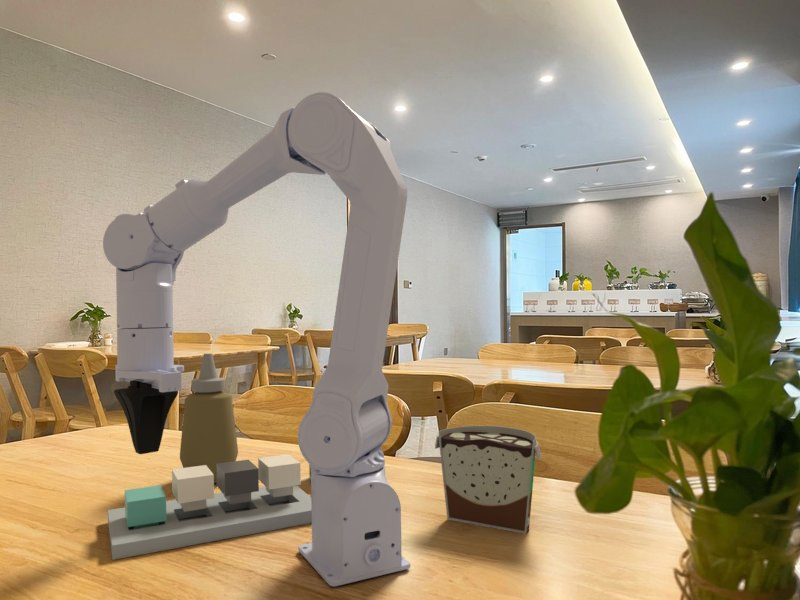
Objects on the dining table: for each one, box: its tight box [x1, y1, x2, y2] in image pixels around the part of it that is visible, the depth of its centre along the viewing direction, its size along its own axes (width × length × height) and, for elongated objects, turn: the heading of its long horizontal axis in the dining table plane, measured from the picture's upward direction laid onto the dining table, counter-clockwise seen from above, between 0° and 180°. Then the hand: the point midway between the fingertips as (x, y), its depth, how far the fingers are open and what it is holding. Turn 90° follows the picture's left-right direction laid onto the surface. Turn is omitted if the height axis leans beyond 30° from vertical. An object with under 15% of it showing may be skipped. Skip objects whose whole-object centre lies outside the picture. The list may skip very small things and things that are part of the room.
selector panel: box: [107, 485, 312, 561], centre depth 70 cm, size 12×22×1 cm, turn 117°
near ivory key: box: [257, 453, 302, 497], centre depth 74 cm, size 5×4×4 cm
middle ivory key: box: [171, 465, 215, 512], centre depth 69 cm, size 5×4×4 cm
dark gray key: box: [216, 459, 260, 504], centre depth 71 cm, size 5×4×4 cm
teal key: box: [124, 484, 167, 530], centre depth 67 cm, size 5×4×4 cm
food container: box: [434, 425, 542, 535], centre depth 70 cm, size 12×6×10 cm, turn 59°
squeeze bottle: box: [179, 353, 239, 484], centre depth 87 cm, size 8×8×18 cm
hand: (147, 451), depth 67 cm, fingers closed
